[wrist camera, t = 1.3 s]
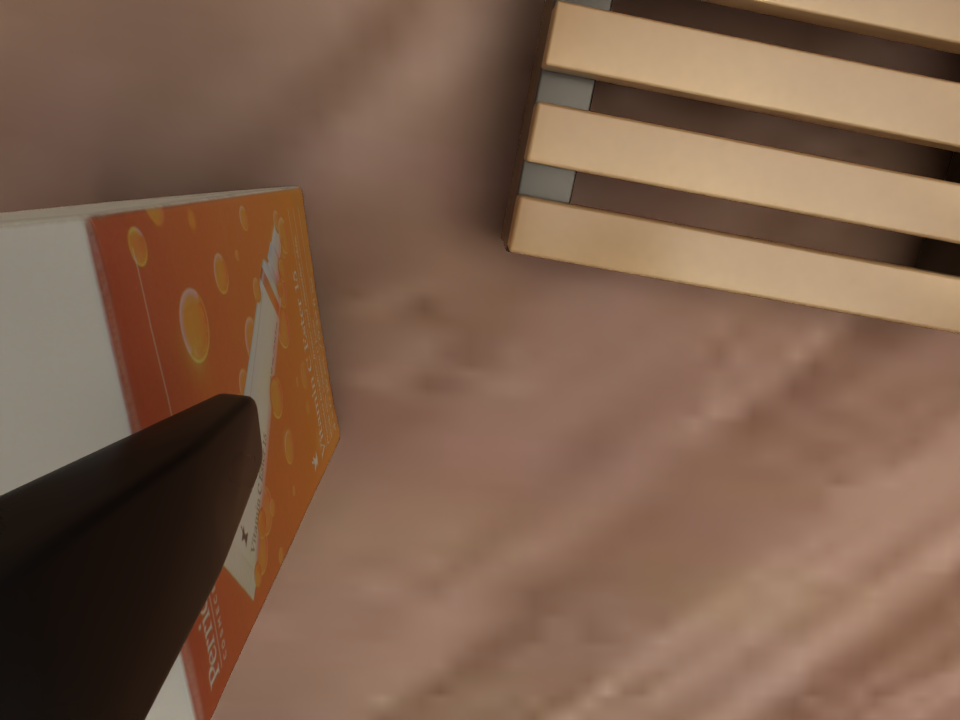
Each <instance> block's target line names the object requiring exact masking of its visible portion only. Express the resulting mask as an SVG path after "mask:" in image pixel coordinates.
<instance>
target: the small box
mask: <svg viewBox="0 0 960 720" xmlns="http://www.w3.org/2000/svg"><path fill="white" fill-rule="evenodd" d="M221 393H226V394H236V395H245V396H250V397H252V398H253V399H254V400H255V402H256V405H257V409H258V417H259V425H260V433H261V441H262V450H263V455H262V463H261V468H260V471H259V473H258V476H257V479H256V481H255V484H254V487H253V489H252V492H251V495H250V497H249V500H248V503H247V505H246V508H245V510H244V513H243V516H242V518H241V521H240V524H239V526H238V529H237V532H236V534H235V537H234V540H233V542H232V545H231V548H230V550H229V553H228V556H227V558H226V560H225V563H224V565H223V568H222V570H221V573H220V575H219V577H218V579H217V581H216V583H215V585H214V587H213V589H212V591H211V593H210V595H209V597H208V599H207V601H206V603H205V605H204V607H203V608H202V610H201V612H200V614H199V616H198V618H197V620H196V622H195V624H194V626H193V628H192V630H191V632H190V634H189V636H188V637H187V639H186V641H185V643H184V645H183V647H182V649H181V651H180V653H179V655H178V657H177V659H176V661H175V663H174V665H173V666H172V668H171V670H170V672H169V674H168V676H167V678H166V680H165V682H164V684H163V686H162V688H161V690H160V692H159V694H158V695H157V697H156V699H155V701H154V703H153V705H152V707H151V709H150V711H149V713H148V715H147V717H146V719H145V720H210V719H211V717H212V715H213V713H214V711H215V709H216V707H217V704H218V702H219V700H220V697H221V695H222V693H223V691H224V688H225V686H226V684H227V681H228V679H229V677H230V675H231V673H232V671H233V668H234V666H235V664H236V662H237V660H238V658H239V655H240V653H241V651H242V649H243V647H244V645H245V642H246V640H247V638H248V636H249V634H250V632H251V629H252V627H253V625H254V623H255V621H256V619H257V617H258V615H259V612H260V610H261V608H262V606H263V604H264V602H265V600H266V597H267V595H268V593H269V591H270V589H271V586H272V584H273V582H274V580H275V578H276V576H277V574H278V571H279V569H280V567H281V565H282V563H283V561H284V559H285V557H286V554H287V552H288V550H289V548H290V545H291V543H292V541H293V539H294V537H295V534H296V532H297V530H298V528H299V526H300V523H301V521H302V519H303V517H304V515H305V513H306V510H307V508H308V506H309V504H310V502H311V500H312V497H313V495H314V493H315V491H316V489H317V487H318V484H319V482H320V480H321V478H322V476H323V474H324V472H325V470H326V468H327V465H328V463H329V461H330V459H331V457H332V455H333V453H334V450H335V448H336V446H337V444H338V441H339V439H340V431H339V426H338V422H337V417H336V412H335V407H334V402H333V396H332V390H331V385H330V379H329V373H328V367H327V361H326V354H325V347H324V340H323V335H322V329H321V323H320V316H319V309H318V303H317V296H316V289H315V282H314V274H313V267H312V260H311V253H310V246H309V240H308V232H307V224H306V217H305V210H304V203H303V193H302V190H301V188H300V187H297V186H286V187H274V188H261V189H249V190H237V191H224V192H213V193H202V194H191V195H180V196H169V197H158V198H147V199H136V200H125V201H114V202H103V203H93V204H83V205H73V206H63V207H53V208H43V209H33V210H23V211H13V212H4V213H0V496H1V495H3V494H5V493H7V492H9V491H11V490H13V489H16V488H18V487H20V486H22V485H24V484H26V483H28V482H31V481H33V480H35V479H37V478H39V477H41V476H44V475H46V474H48V473H50V472H52V471H54V470H56V469H59V468H61V467H63V466H65V465H67V464H69V463H71V462H74V461H76V460H78V459H80V458H82V457H84V456H86V455H89V454H91V453H93V452H95V451H97V450H99V449H102V448H104V447H106V446H108V445H110V444H112V443H114V442H117V441H119V440H121V439H123V438H125V437H127V436H129V435H132V434H134V433H136V432H138V431H140V430H142V429H144V428H147V427H149V426H151V425H153V424H155V423H157V422H160V421H162V420H164V419H166V418H168V417H170V416H172V415H175V414H177V413H179V412H181V411H183V410H185V409H187V408H190V407H192V406H194V405H196V404H198V403H200V402H202V401H205V400H207V399H209V398H211V397H213V396H215V395H218V394H221Z"/></svg>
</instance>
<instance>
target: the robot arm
mask: <svg viewBox="0 0 960 720" xmlns="http://www.w3.org/2000/svg"><path fill="white" fill-rule="evenodd" d="M262 455H263V450H262V441H261V433H260V425H259V417H258V409H257V405H256V402H255V400H254V399H253V398H252V397H250V396H245V395H236V394H226V393H221V394H218V395H215V396H213V397H211V398H209V399H207V400H205V401H202V402H200V403H198V404H196V405H194V406H192V407H190V408H187V409H185V410H183V411H181V412H179V413H177V414H175V415H172V416H170V417H168V418H166V419H164V420H162V421H160V422H157V423H155V424H153V425H151V426H149V427H147V428H144V429H142V430H140V431H138V432H136V433H134V434H132V435H129V436H127V437H125V438H123V439H121V440H119V441H117V442H114V443H112V444H110V445H108V446H106V447H104V448H102V449H99V450H97V451H95V452H93V453H91V454H89V455H86V456H84V457H82V458H80V459H78V460H76V461H74V462H71V463H69V464H67V465H65V466H63V467H61V468H59V469H56V470H54V471H52V472H50V473H48V474H46V475H44V476H41V477H39V478H37V479H35V480H33V481H31V482H28V483H26V484H24V485H22V486H20V487H18V488H16V489H13V490H11V491H9V492H7V493H5V494H3V495H1V496H0V720H145V719H146V717H147V715H148V713H149V711H150V709H151V707H152V705H153V703H154V701H155V699H156V697H157V695H158V694H159V692H160V690H161V688H162V686H163V684H164V682H165V680H166V678H167V676H168V674H169V672H170V670H171V668H172V666H173V665H174V663H175V661H176V659H177V657H178V655H179V653H180V651H181V649H182V647H183V645H184V643H185V641H186V639H187V637H188V636H189V634H190V632H191V630H192V628H193V626H194V624H195V622H196V620H197V618H198V616H199V614H200V612H201V610H202V608H203V607H204V605H205V603H206V601H207V599H208V597H209V595H210V593H211V591H212V589H213V587H214V585H215V583H216V581H217V579H218V577H219V575H220V573H221V570H222V568H223V565H224V563H225V560H226V558H227V556H228V553H229V550H230V548H231V545H232V542H233V540H234V537H235V534H236V532H237V529H238V526H239V524H240V521H241V518H242V516H243V513H244V510H245V508H246V505H247V503H248V500H249V497H250V495H251V492H252V489H253V487H254V484H255V481H256V479H257V476H258V473H259V471H260V468H261V463H262Z"/></svg>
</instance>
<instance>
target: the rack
mask: <svg viewBox="0 0 960 720" xmlns="http://www.w3.org/2000/svg"><path fill="white" fill-rule="evenodd" d="M700 1H705V2H710V3H715V4H719V5H724V6H729V7H734V8H739V9H743V10H748V11H753V12H758V13H763V14H767V15H772V16H777V17H782V18H787V19H791V20H796V21H801V22H806V23H811V24H815V25H820V26H825V27H830V28H835V29H839V30H844V31H849V32H854V33H859V34H863V35H868V36H873V37H878V38H883V39H887V40H892V41H897V42H902V43H907V44H911V45H916V46H921V47H926V48H931V49H935V50H940V51H945V52H950V53H955V54H959V55H960V0H700ZM612 2H613V0H546V1H545V7H544V12H543V17H542V23H541V28H540V33H539V38H538V44H537V49H536V54H535V60H534V65H533V70H532V76H531V81H530V86H529V91H528V97H527V102H526V107H525V113H524V118H523V123H522V129H521V134H520V139H519V144H518V150H517V155H516V160H515V166H514V171H513V176H512V181H511V187H510V192H509V197H508V203H507V208H506V213H505V219H504V224H503V229H502V234H501V239H502V242H503V244H504V246H505V248H506V250H507V251H508V252H513V253H518V254H524V255H529V256H535V257H540V258H546V259H551V260H557V261H562V262H568V263H573V264H579V265H584V266H590V267H595V268H601V269H606V270H612V271H617V272H623V273H628V274H634V275H639V276H645V277H650V278H656V279H661V280H667V281H672V282H678V283H683V284H689V285H694V286H700V287H705V288H711V289H716V290H722V291H727V292H733V293H738V294H744V295H749V296H754V297H760V298H765V299H771V300H776V301H782V302H787V303H793V304H798V305H804V306H809V307H815V308H820V309H826V310H831V311H837V312H842V313H848V314H853V315H859V316H864V317H870V318H875V319H881V320H886V321H892V322H897V323H903V324H908V325H914V326H919V327H925V328H930V329H936V330H941V331H947V332H952V333H958V334H960V83H958V82H953V81H948V80H944V79H939V78H934V77H929V76H924V75H919V74H914V73H910V72H905V71H900V70H895V69H890V68H885V67H880V66H876V65H871V64H866V63H861V62H856V61H851V60H846V59H841V58H837V57H832V56H827V55H822V54H817V53H812V52H807V51H803V50H798V49H793V48H788V47H783V46H778V45H773V44H768V43H764V42H759V41H754V40H749V39H744V38H739V37H734V36H730V35H725V34H720V33H715V32H710V31H705V30H700V29H696V28H691V27H686V26H681V25H676V24H671V23H666V22H661V21H657V20H652V19H647V18H642V17H637V16H632V15H627V14H623V13H618V12H613V11H611V6H612ZM596 80H598V81H603V82H608V83H613V84H618V85H623V86H628V87H633V88H638V89H643V90H648V91H653V92H658V93H663V94H668V95H673V96H678V97H683V98H688V99H693V100H698V101H703V102H708V103H713V104H718V105H723V106H728V107H733V108H738V109H743V110H748V111H753V112H759V113H764V114H769V115H774V116H779V117H784V118H789V119H794V120H799V121H804V122H809V123H814V124H819V125H824V126H829V127H834V128H839V129H844V130H849V131H854V132H859V133H864V134H869V135H874V136H879V137H884V138H889V139H894V140H899V141H904V142H909V143H914V144H919V145H924V146H929V147H934V148H939V149H944V150H949V151H954V154H953V157H952V160H951V163H950V166H949V169H948V172H947V175H946V177H945V180H939V179H934V178H929V177H924V176H919V175H914V174H909V173H904V172H899V171H893V170H888V169H883V168H878V167H873V166H868V165H863V164H858V163H853V162H848V161H842V160H837V159H832V158H827V157H822V156H817V155H812V154H807V153H802V152H797V151H791V150H786V149H781V148H776V147H771V146H766V145H761V144H756V143H751V142H746V141H740V140H735V139H730V138H725V137H720V136H715V135H710V134H705V133H700V132H695V131H689V130H684V129H679V128H674V127H669V126H664V125H659V124H654V123H649V122H644V121H638V120H633V119H628V118H623V117H618V116H613V115H608V114H603V113H598V112H593V111H590V106H591V101H592V97H593V92H594V87H595V82H596ZM577 172H583V173H588V174H593V175H598V176H604V177H609V178H614V179H619V180H625V181H630V182H635V183H640V184H646V185H651V186H656V187H661V188H667V189H672V190H677V191H682V192H688V193H693V194H698V195H703V196H709V197H714V198H719V199H724V200H730V201H735V202H740V203H745V204H751V205H756V206H761V207H766V208H772V209H777V210H782V211H787V212H793V213H798V214H803V215H808V216H814V217H819V218H824V219H829V220H835V221H840V222H845V223H850V224H856V225H861V226H866V227H871V228H877V229H882V230H887V231H892V232H898V233H903V234H908V235H913V236H919V237H924V238H925V240H924V243H923V246H922V248H921V251H920V254H919V257H918V260H917V263H916V266H915V268H913V267H908V266H902V265H897V264H892V263H886V262H881V261H876V260H870V259H865V258H860V257H854V256H849V255H844V254H838V253H833V252H828V251H822V250H817V249H812V248H806V247H801V246H795V245H790V244H785V243H779V242H774V241H769V240H763V239H758V238H753V237H747V236H742V235H737V234H731V233H726V232H721V231H715V230H710V229H705V228H699V227H694V226H689V225H683V224H678V223H673V222H667V221H662V220H657V219H651V218H646V217H641V216H635V215H630V214H625V213H619V212H614V211H609V210H603V209H598V208H593V207H587V206H582V205H577V204H571V203H570V201H571V196H572V192H573V187H574V182H575V177H576V173H577Z"/></svg>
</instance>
